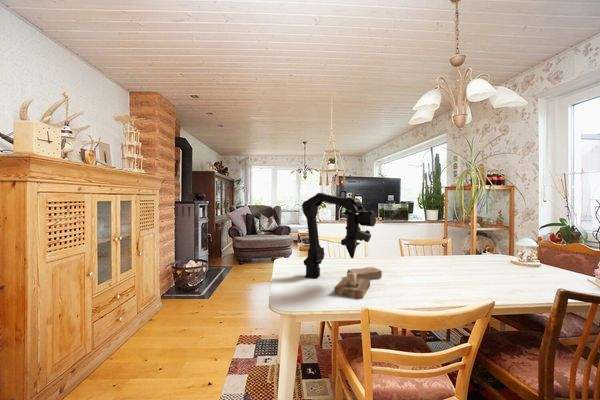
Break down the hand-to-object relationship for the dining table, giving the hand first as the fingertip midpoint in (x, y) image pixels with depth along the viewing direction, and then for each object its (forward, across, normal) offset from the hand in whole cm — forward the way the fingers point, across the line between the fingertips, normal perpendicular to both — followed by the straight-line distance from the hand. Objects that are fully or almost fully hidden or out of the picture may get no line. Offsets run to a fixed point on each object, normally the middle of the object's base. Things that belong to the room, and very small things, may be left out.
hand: (352, 258), depth 134 cm
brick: (+14, +16, -3) cm, 21 cm away
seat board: (+13, -6, -2) cm, 14 cm away
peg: (+13, -9, -2) cm, 16 cm away
